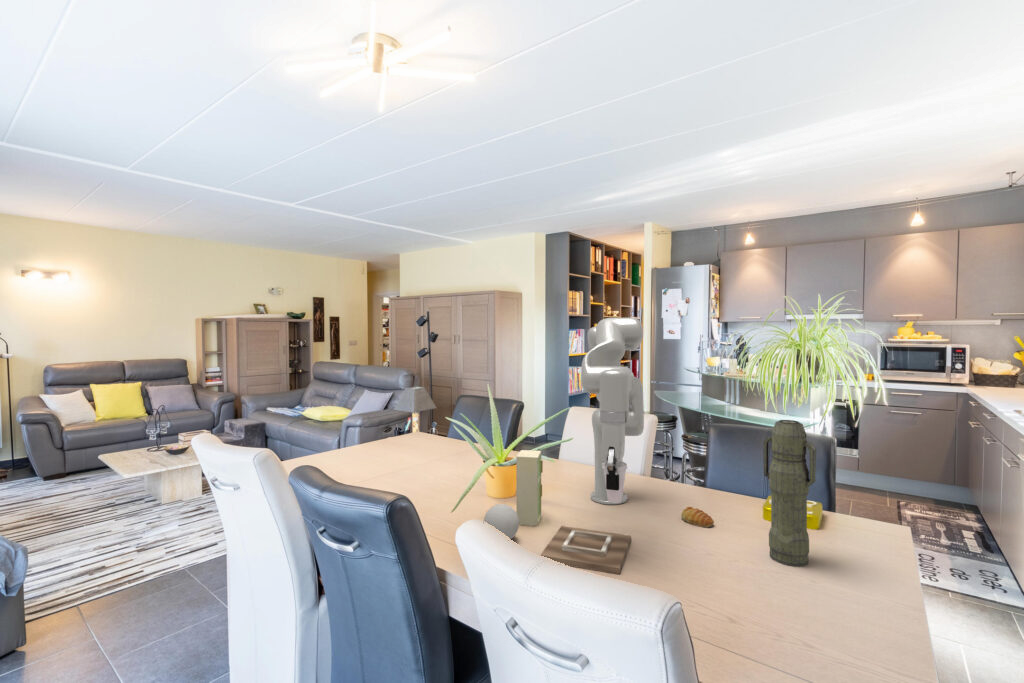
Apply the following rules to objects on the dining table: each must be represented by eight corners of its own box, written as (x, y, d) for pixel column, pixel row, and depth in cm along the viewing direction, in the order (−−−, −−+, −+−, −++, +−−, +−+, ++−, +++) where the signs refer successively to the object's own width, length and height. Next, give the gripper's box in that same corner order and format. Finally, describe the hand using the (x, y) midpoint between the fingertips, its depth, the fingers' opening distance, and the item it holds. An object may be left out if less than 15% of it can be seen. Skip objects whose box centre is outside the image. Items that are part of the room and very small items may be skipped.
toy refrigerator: (540, 527, 148) (539, 457, 147) (516, 525, 149) (515, 456, 149) (544, 517, 155) (543, 450, 155) (521, 515, 157) (520, 449, 156)
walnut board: (561, 530, 144) (561, 521, 144) (631, 540, 137) (631, 531, 137) (540, 560, 126) (540, 550, 126) (619, 574, 119) (619, 563, 118)
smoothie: (599, 496, 132) (599, 444, 132) (622, 495, 133) (622, 443, 132) (606, 505, 126) (606, 450, 125) (631, 504, 126) (630, 449, 126)
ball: (524, 536, 141) (524, 501, 141) (510, 551, 132) (510, 513, 132) (493, 531, 145) (493, 497, 145) (477, 544, 136) (476, 508, 136)
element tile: (769, 506, 164) (769, 492, 163) (823, 516, 155) (823, 501, 155) (761, 521, 151) (761, 505, 151) (818, 532, 143) (818, 515, 143)
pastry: (719, 525, 148) (719, 513, 147) (704, 531, 144) (704, 518, 144) (693, 515, 156) (692, 503, 155) (678, 520, 152) (678, 508, 152)
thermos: (812, 572, 119) (812, 427, 118) (758, 557, 126) (759, 421, 125) (819, 559, 125) (819, 421, 124) (768, 546, 133) (768, 416, 132)
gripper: (605, 410, 138) (605, 474, 138) (593, 422, 122) (594, 494, 122) (632, 412, 135) (632, 477, 136) (624, 424, 119) (625, 498, 120)
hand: (614, 484), depth 129 cm, fingers closed on smoothie, 6 cm apart
